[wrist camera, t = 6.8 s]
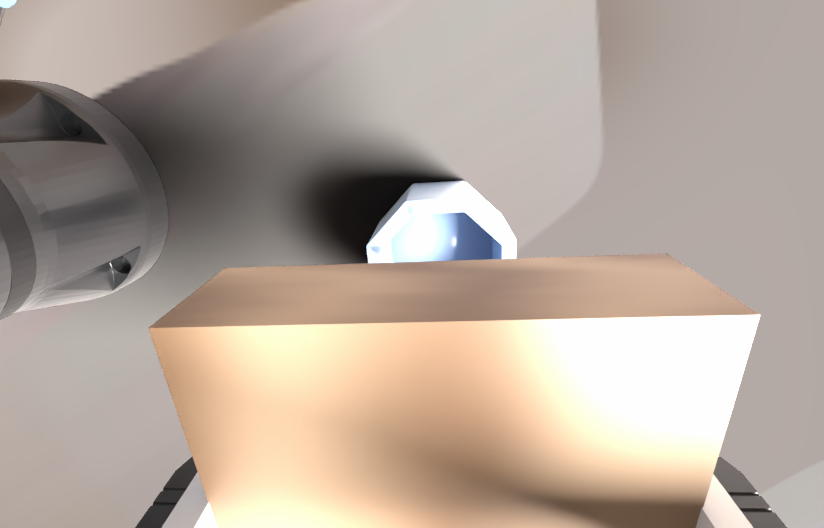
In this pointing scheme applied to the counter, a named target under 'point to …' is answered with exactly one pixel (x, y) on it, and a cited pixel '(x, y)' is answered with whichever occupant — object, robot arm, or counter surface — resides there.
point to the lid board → (457, 392)
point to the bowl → (441, 227)
